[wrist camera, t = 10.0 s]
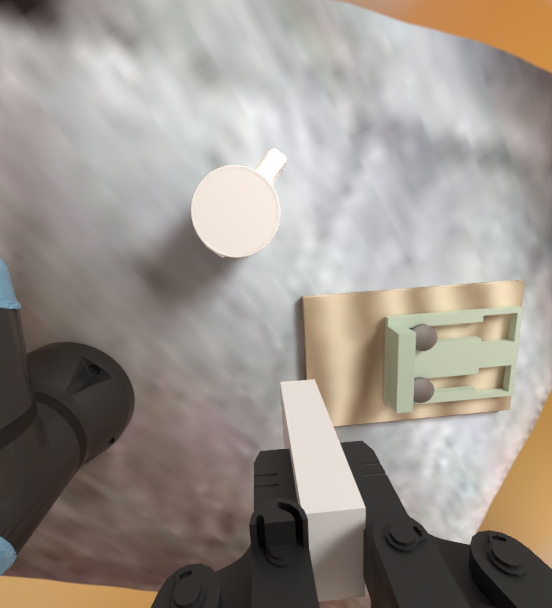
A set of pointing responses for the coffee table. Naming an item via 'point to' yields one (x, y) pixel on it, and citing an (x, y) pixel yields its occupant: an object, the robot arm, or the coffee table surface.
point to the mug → (238, 207)
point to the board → (371, 339)
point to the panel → (445, 356)
